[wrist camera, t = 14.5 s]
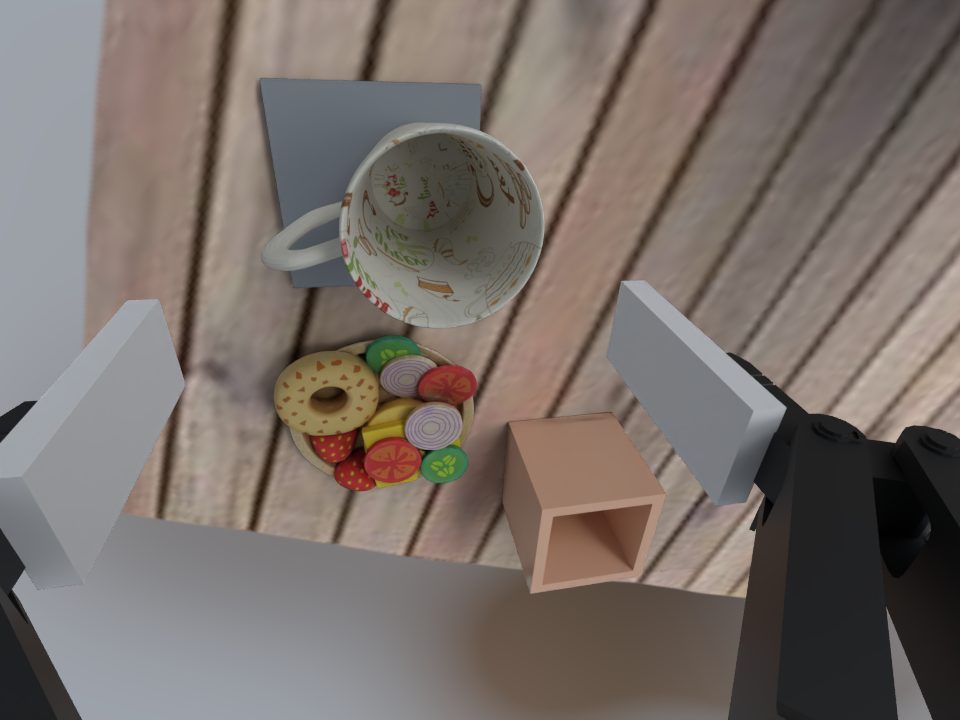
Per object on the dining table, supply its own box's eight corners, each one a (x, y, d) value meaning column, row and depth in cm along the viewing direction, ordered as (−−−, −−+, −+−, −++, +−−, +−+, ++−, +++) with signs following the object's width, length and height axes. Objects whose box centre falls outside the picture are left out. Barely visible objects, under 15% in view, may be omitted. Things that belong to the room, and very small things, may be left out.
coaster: (261, 78, 26) (259, 78, 25) (479, 84, 28) (481, 85, 27) (294, 284, 32) (293, 288, 31) (472, 276, 34) (474, 280, 33)
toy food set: (262, 345, 34) (253, 372, 31) (463, 307, 35) (471, 330, 32) (318, 489, 41) (316, 522, 38) (483, 453, 42) (491, 482, 40)
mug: (509, 225, 32) (562, 292, 23) (313, 293, 32) (296, 386, 23) (470, 75, 27) (519, 93, 19) (240, 155, 27) (187, 209, 19)
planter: (508, 422, 41) (542, 509, 33) (611, 412, 42) (666, 493, 35) (501, 500, 45) (530, 593, 38) (595, 489, 47) (640, 576, 39)
